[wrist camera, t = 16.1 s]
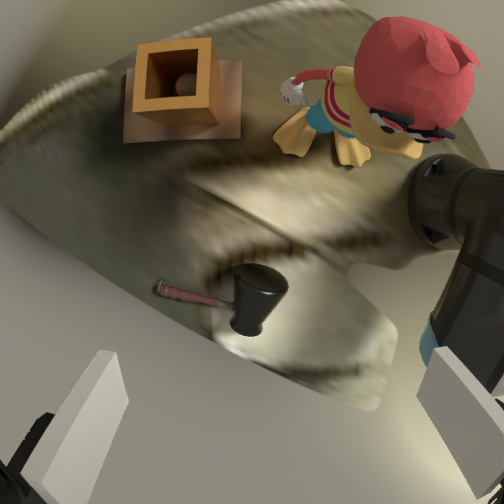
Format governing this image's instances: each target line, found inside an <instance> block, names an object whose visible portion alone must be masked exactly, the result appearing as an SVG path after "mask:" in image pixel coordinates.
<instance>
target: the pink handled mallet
mask: <svg viewBox="0 0 504 504" xmlns="http://www.w3.org/2000/svg"><path fill="white" fill-rule="evenodd" d="M163 280H164V281H165V279H162V280H161V282H160V284H159V285H158V286H157V288H156V292H157V293H158V294H160V295H162V296H164V297H168V296H169V297H170V298H172V299H178V298H179V299H181V300H182V301H183V302H199V303H204V304H207V305H210V306H213V307H222V308H227V309H232V311H235V314H234V316H233V317H232V318H231V319H230V325H231V327H232V329H233V330H234V331H236V332H237V333H239V334H241V335H243V336H248V337H254V336H257V335H259V334H261V332H262V323H263V322H264V321H265V319H266V318H267V317H268V316H269V314H270V313H271V312H272V311H273V309H274V308H275V307H276V306H277V304H278V303H279V302H280V301H281V299H282V298H283V297H284V296H285V294H286V293H287V291H288V288H289V285H288V282H287V280H286V278H285V277H284V276H283V275H282V274H281V273H280V272H278V271H276V270H274V269H273V268H270V267H268V266H265V265H261V264H254V263H248V264H243V265H240V266H239V267H237V268H236V270H235V272H234V302H233V303H231V302H226V301H222V300H220V299H219V298H212V297H205V296H201V295H198V294H195V293H193V292H190V291H187V290H183V291H180V290H179V288H175V287H171V288H170V286H169V285H161V283H162V281H163Z"/></svg>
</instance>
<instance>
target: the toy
mask: <svg viewBox="0 0 504 504" xmlns="http://www.w3.org/2000/svg"><path fill="white" fill-rule="evenodd" d="M471 63H473V64H475V65H476V66H477V67H481V65H480V62H479V60H478V58H477V57H476V55H475V54H474V52H472V51H471V50H470V49H469V48H468V47H466V46H465V45H464V44H462V43H461V42H460V41H459V40H458V39H457V38H456V37H454V36H453V35H451V34H449V33H447V32H446V31H444V30H442V29H440V28H438V27H436V26H433V25H431V24H428V23H426V22H423V21H420V20H416V19H412V18H407V17H386V18H383V19H380V20H379V21H377V22H376V23H375V24H373V25H372V26H371V28H370V29H369V30H368V32H367V33H366V34H365V36H364V38H363V39H362V42H361V44H360V47H359V50H358V52H357V55H356V57H355V64H354V68H352V67H346V66H338V67H331V68H330V69H312V70H306V71H304V72H301V73H299V74H298V75H297V76H296V77H292V78H290V79H287V80H286V81H284V83H283V84H282V86H281V89H280V92H281V96H282V98H283V100H284V101H285V102H286V103H287V104H289V105H292V106H296V105H298V104H299V101H300V102H301V103H302V104H303V105H305V106H306V105H307V104H308V101H307V99H306V96H305V95H304V94H303V92H302V91H301V89H302V87H303V82H305V81H308V80H314V79H326V80H328V81H327V82H326V83H325V85H324V87H323V89H322V92H321V98H320V100H319V101H318V102H317V103H316V105H314V106H312V107H311V108H309V107H303V108H302V109H301V110H300V111H298V112H297V113H296V114H295V115H293V116H292V117H291V118H290V119H289V120H288V121H287V122H286V123H284V124H283V125H282V126H281V127H280V128H279V129H278V130H277V132H276V133H275V134H274V136H273V140H274V141H275V142H276V143H277V144H279V146H280V148H281V150H282V152H283V153H284V154H295V155H297V156H299V157H303V156H305V154H306V153H307V151H308V150H309V148H310V145H311V143H312V141H313V138H314V136H315V134H316V131H319V132H322V133H330V132H332V131H333V130H334V137H335V145H336V150H337V155H338V159H339V162H340V164H341V165H352V166H355V167H358V168H360V167H361V166H362V164H363V162H364V161H366V160H369V159H370V158H371V154H370V150H369V148H370V149H372V150H375V151H379V152H382V153H386V154H390V155H393V156H397V157H401V158H405V159H417V158H419V156H420V155H421V153H422V148H423V144H424V143H431V141H433V142H439V141H442V140H443V139H444V138H445V137H447V138H450V139H455V135H454V134H452V133H450V132H449V131H447V130H445V129H447V128H448V127H450V126H452V125H453V124H454V123H455V122H456V121H457V120H458V119H459V118H460V117H461V116H462V115H463V113H464V111H465V110H466V107H467V106H468V103H469V101H470V98H471V95H472V92H473V87H474V73H473V70H472V66H471Z"/></svg>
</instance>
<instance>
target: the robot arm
mask: <svg viewBox="0 0 504 504" xmlns="http://www.w3.org/2000/svg"><path fill="white" fill-rule="evenodd" d="M408 208H409V215H410V219H411V222H412V225H413V227H414V229H415V231H416V232H417V234H418V235H419V236H420V237H421V238H422V239H423V240H424V241H425V242H427V243H428V244H430V245H432V246H434V247H436V248H439V249H443V250H459V249H461V250H460V252H459V255H458V257H457V259H456V262H455V264H454V267H453V269H452V271H451V274H450V276H449V278H448V281H447V283H446V285H445V288H444V290H443V292H442V294H441V296H440V298H439V300H438V302H437V304H436V306H435V308H434V310H433V311H432V312H431V314H430V316H429V320H428V323H427V325H426V327H425V330H424V332H423V334H422V336H421V338H420V343H419V348H420V353H421V357H422V360H423V362H424V364H425V366H426V367H427V369H426V372H425V375H424V378H423V380H422V383H421V385H420V388H419V390H418V393H417V395H416V396H417V398H418V399H419V401H420V403H421V404H422V406H423V407H424V409H425V411H426V412H427V414H428V416H429V417H430V419H431V420H432V422H433V424H434V425H435V427H436V429H437V430H438V432H439V434H440V435H441V437H442V439H443V440H444V442H445V444H446V445H447V447H448V449H449V450H450V452H451V454H452V456H453V457H454V459H455V461H456V462H457V464H458V466H459V468H460V470H461V472H462V473H463V475H464V477H465V479H466V480H467V482H468V484H469V486H470V488H471V490H472V492H473V493H474V495H475V497H476V499H479V498H481V497H483V496H485V495H487V494H488V493H490V492H491V491H492V490H493V489H494V488H495V487H496V486H497V485H498V484H499V483H500V484H501V486H502V487H501V488H500V489H499V490H498V491H497V493H496V494H495V495H494V496H493V497H492V498H491V499H490V500H489V502H488V504H490V503H491V502H492V501H494V500H495V499H496V498H497V500H496V501H495V502H494V503H493V504H504V403H503V402H501V401H500V400H498V399H494V397H497V396H501V395H504V170H495V169H485V168H479V167H478V166H476V165H475V164H473V163H471V162H470V161H468V160H467V159H465V158H463V157H461V156H458V155H455V154H438V155H434V156H432V157H430V158H428V159H427V160H426V161H424V162H423V163H422V164H421V166H420V167H419V168H418V169H417V171H416V173H415V175H414V177H413V179H412V182H411V185H410V189H409V196H408ZM128 403H129V400H128V397H127V393H126V390H125V386H124V382H123V379H122V375H121V371H120V367H119V363H118V359H117V355H116V352H113V351H105V350H99V351H98V352H97V354H96V355H95V357H94V358H93V360H92V361H91V362H90V364H89V365H88V367H87V368H86V370H85V371H84V373H83V374H82V376H81V377H80V378H79V380H78V381H77V383H76V384H75V386H74V387H73V389H72V390H71V392H70V393H69V395H68V396H67V398H66V399H65V401H64V402H63V404H62V406H61V407H60V408H59V410H58V412H57V413H56V415H55V414H51V413H48V412H46V413H45V414H44V415H42V416H41V417H40V418H38V419H37V420H36V421H35V423H34V425H33V426H32V427H31V429H30V432H28V433H27V435H26V436H25V440H23V441H22V443H21V444H20V446H19V448H18V449H17V451H16V452H15V454H14V455H13V457H12V458H11V460H10V462H9V463H8V465H7V466H5V465H4V464H3V463H2V461H1V460H0V504H88V501H89V498H90V496H91V493H92V490H93V488H94V485H95V483H96V480H97V477H98V475H99V472H100V470H101V467H102V465H103V462H104V460H105V457H106V455H107V452H108V450H109V448H110V445H111V443H112V440H113V438H114V435H115V433H116V431H117V428H118V426H119V424H120V421H121V419H122V417H123V414H124V412H125V410H126V408H127V405H128Z"/></svg>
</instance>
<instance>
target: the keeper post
mask: <svg viewBox="0 0 504 504" xmlns="http://www.w3.org/2000/svg"><path fill="white" fill-rule="evenodd" d="M219 64H220V68H221V71H222V75H221V104H220V124H192V125H171V126H163V125H161V124H159V123H156V122H154V121H152V120H149V119H147V118H144V117H142V116H140V115H137V114H135V113H133V94H134V80H135V68H129V69H127V78H126V91H125V107H124V131H123V143H127V144H128V143H141V142H155V141H174V140H205V139H241V101H242V66H243V63H242V60H225V61H219ZM196 83H197V75H196V74H193V73H187V74H184V75H182V76H181V77H180V78H179V79H178V80H177V82H175V90H174V97H182V96H196Z"/></svg>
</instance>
